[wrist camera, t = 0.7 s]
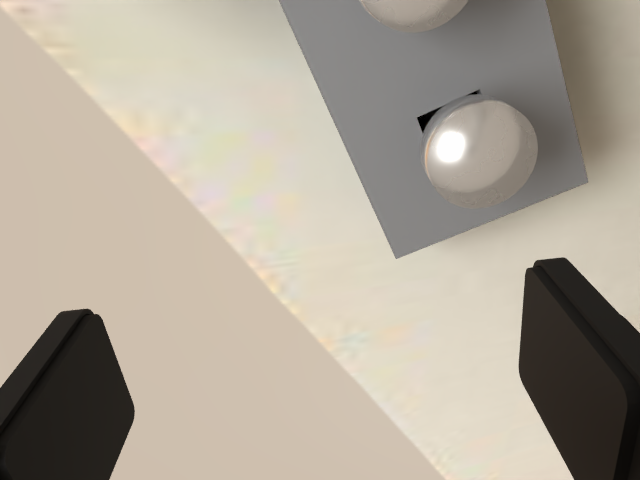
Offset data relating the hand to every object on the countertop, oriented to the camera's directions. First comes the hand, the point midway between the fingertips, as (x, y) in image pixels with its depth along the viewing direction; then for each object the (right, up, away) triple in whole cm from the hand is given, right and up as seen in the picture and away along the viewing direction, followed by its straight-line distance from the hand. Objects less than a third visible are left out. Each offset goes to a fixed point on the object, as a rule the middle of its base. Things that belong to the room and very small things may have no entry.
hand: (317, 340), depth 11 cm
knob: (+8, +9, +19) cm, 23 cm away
